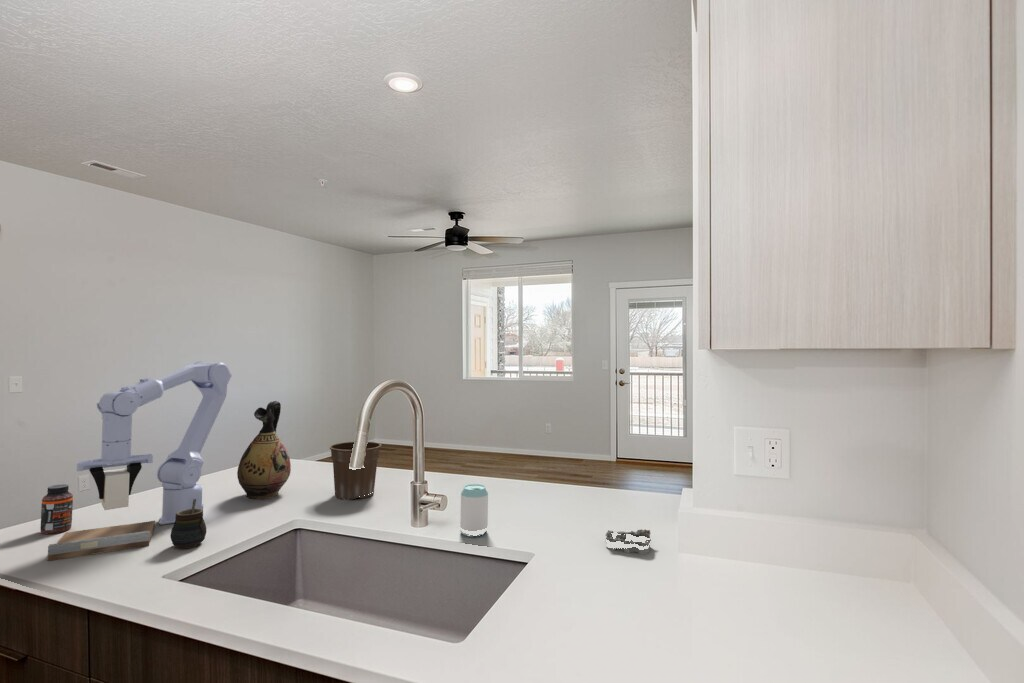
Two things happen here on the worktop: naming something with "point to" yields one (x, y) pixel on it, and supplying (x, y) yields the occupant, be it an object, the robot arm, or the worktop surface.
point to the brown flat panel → (104, 533)
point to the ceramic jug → (265, 458)
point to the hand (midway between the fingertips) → (114, 496)
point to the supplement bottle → (56, 510)
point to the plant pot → (354, 471)
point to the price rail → (98, 542)
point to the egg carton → (637, 534)
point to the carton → (116, 489)
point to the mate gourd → (188, 528)
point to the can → (474, 508)
